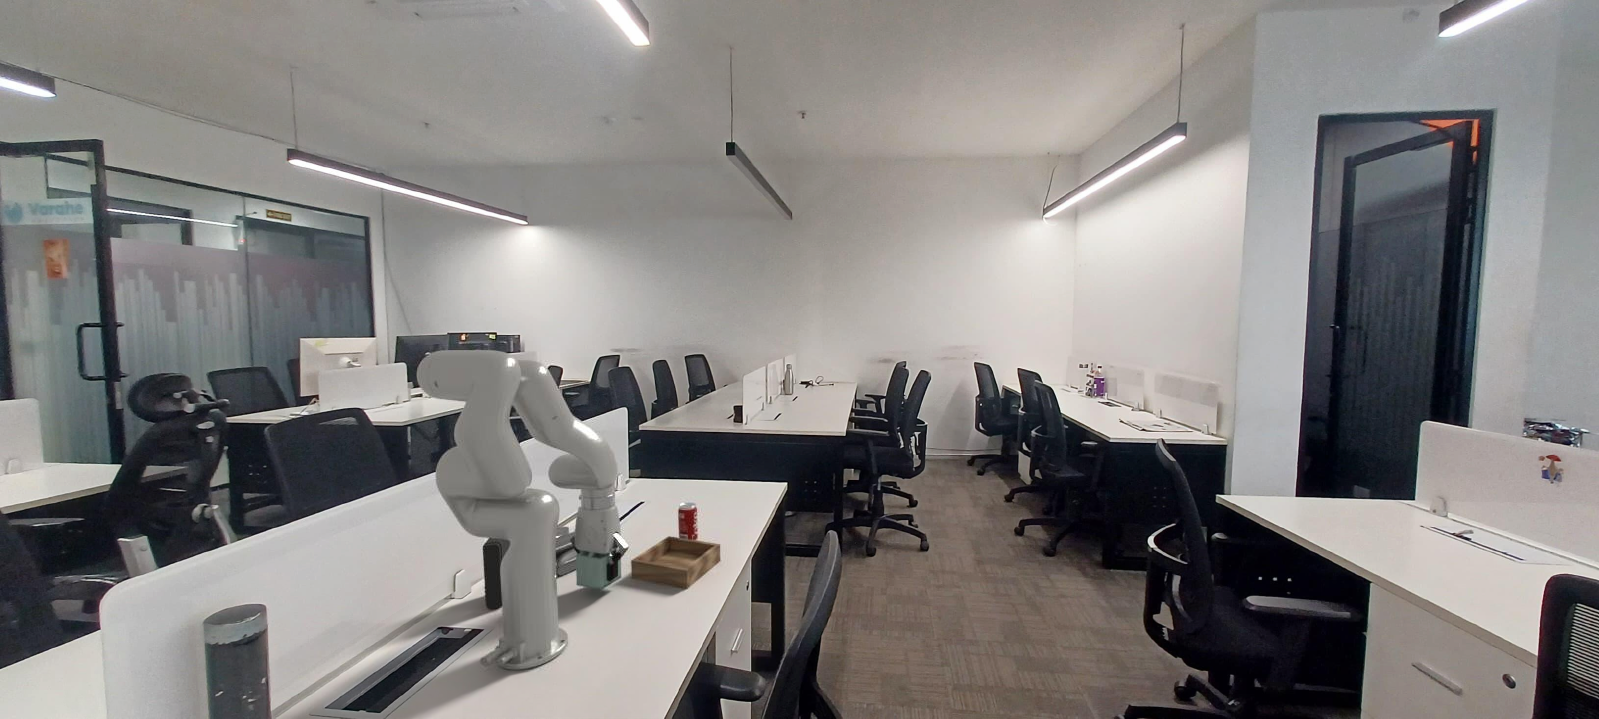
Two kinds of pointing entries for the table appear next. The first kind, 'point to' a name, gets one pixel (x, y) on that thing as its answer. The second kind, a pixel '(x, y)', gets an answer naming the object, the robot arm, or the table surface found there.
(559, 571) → the emblem
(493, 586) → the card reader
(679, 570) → the walnut crate
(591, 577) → the small crate
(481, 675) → the table surface
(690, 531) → the soda can
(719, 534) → the table surface
